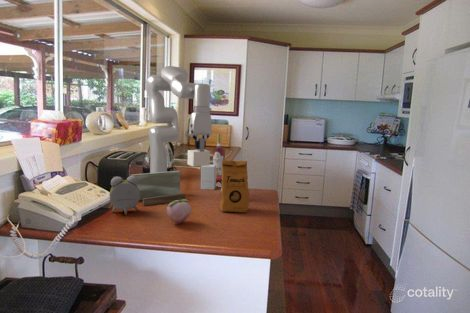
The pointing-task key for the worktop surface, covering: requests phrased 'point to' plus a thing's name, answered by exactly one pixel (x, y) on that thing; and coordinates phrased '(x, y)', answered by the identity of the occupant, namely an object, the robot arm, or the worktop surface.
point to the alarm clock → (124, 193)
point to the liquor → (218, 158)
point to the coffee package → (234, 187)
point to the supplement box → (208, 177)
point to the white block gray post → (199, 156)
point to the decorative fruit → (179, 210)
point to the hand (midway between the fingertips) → (200, 148)
